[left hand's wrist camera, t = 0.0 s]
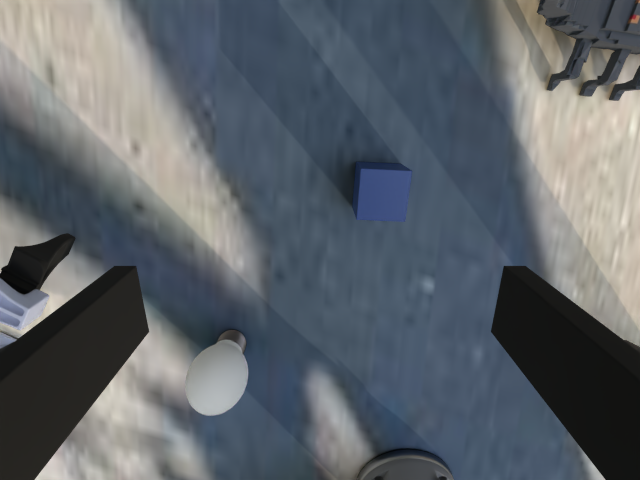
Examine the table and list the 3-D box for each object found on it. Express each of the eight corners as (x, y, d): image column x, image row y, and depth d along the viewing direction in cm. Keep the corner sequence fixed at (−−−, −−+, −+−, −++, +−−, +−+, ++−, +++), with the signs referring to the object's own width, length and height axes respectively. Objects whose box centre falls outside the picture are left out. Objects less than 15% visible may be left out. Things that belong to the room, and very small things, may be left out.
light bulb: (239, 370, 48) (217, 441, 38) (196, 345, 47) (161, 412, 36) (267, 337, 46) (252, 402, 36) (223, 310, 45) (194, 370, 35)
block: (401, 163, 39) (412, 170, 34) (395, 209, 41) (405, 221, 36) (355, 161, 39) (360, 168, 34) (352, 207, 40) (356, 219, 36)
